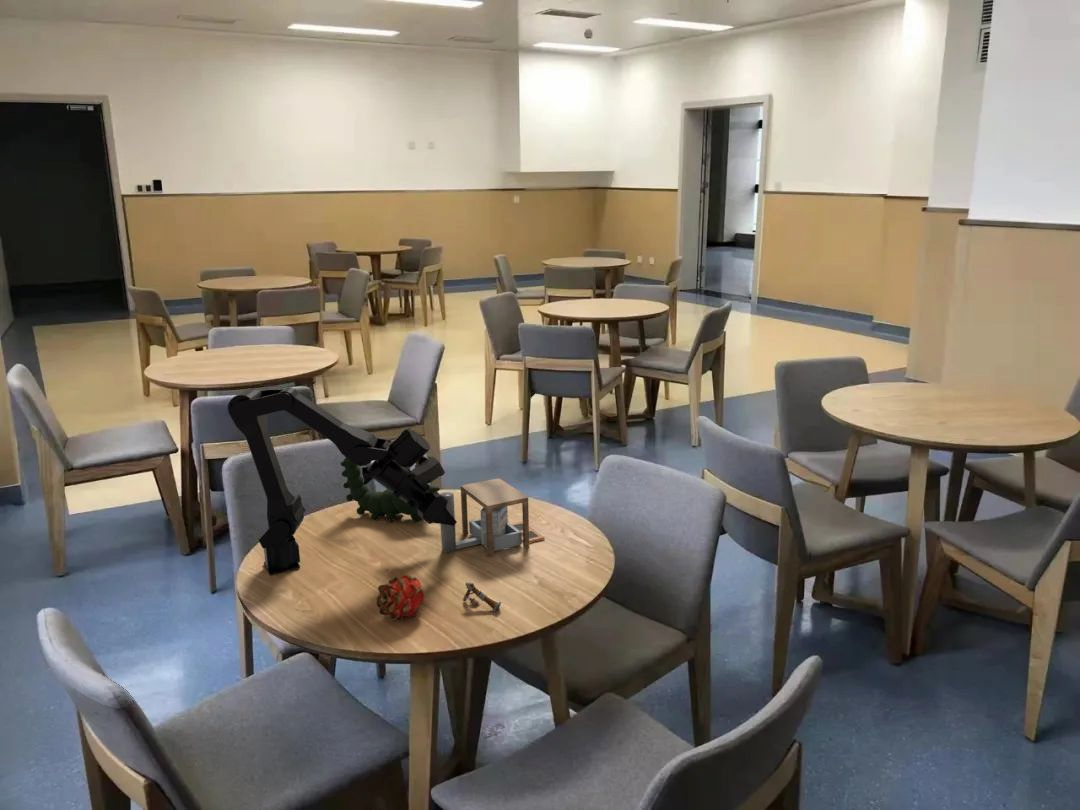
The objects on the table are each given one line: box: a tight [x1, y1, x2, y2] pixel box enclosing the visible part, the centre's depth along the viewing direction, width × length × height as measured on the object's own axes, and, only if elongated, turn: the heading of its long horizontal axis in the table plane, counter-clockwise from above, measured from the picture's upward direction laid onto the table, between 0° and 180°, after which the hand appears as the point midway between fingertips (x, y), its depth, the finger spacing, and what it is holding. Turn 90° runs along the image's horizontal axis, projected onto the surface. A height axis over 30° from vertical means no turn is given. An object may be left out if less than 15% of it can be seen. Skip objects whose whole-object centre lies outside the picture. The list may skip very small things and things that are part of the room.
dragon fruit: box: [376, 573, 425, 621], centre depth 156 cm, size 8×8×12 cm
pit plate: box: [510, 520, 545, 544], centre depth 192 cm, size 5×11×1 cm, turn 29°
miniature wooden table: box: [460, 477, 530, 558], centre depth 187 cm, size 10×15×12 cm
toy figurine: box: [340, 457, 441, 523], centre depth 200 cm, size 9×19×25 cm
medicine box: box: [480, 506, 509, 546], centre depth 188 cm, size 8×4×9 cm, turn 168°
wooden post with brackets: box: [462, 582, 502, 613], centre depth 159 cm, size 2×8×4 cm, turn 61°
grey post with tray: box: [440, 491, 523, 553], centre depth 185 cm, size 17×12×13 cm
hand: (447, 516), depth 181 cm, fingers open, 9 cm apart
